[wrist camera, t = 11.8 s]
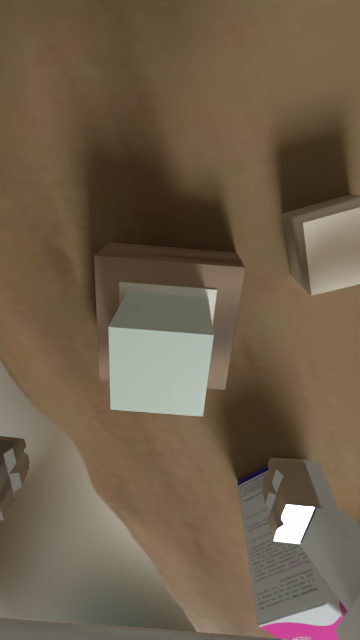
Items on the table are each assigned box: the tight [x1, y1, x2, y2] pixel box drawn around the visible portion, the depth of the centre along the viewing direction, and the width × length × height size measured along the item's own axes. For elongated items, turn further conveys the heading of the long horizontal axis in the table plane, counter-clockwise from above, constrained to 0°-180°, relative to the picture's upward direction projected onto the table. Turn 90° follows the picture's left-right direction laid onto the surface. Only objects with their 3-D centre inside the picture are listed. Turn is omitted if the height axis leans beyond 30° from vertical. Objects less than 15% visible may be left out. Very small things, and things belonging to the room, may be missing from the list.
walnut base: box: [94, 242, 245, 390], centre depth 22 cm, size 9×9×4 cm
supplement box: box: [238, 465, 347, 640], centre depth 27 cm, size 6×6×12 cm
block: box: [282, 195, 360, 296], centre depth 20 cm, size 4×4×4 cm
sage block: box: [108, 291, 214, 416], centre depth 18 cm, size 5×5×5 cm
